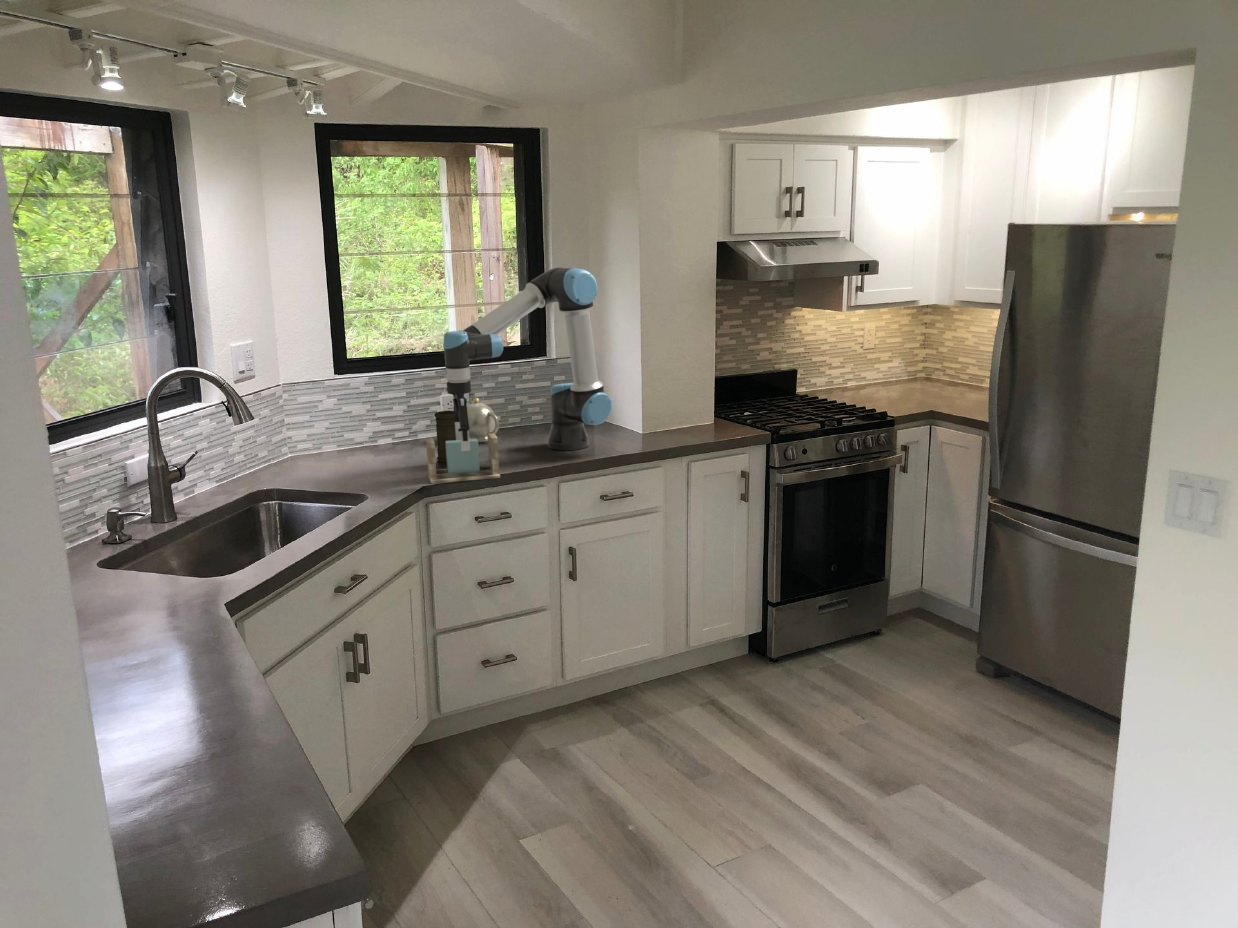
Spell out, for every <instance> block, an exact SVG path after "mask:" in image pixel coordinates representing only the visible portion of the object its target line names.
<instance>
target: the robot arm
mask: <svg viewBox="0 0 1238 928" xmlns="http://www.w3.org/2000/svg"><path fill="white" fill-rule="evenodd" d="M598 290H599V288H598V283H597V280H596V278H595V276H594V275H593V274H592V273H591V272H589V271H588V270H586V269H581V268H578V267H555V268H551V269H549V270H547V271H544V272H543V273H541V274H540V275H538V276H536V277H534V278H533V279H532V280H530V281H529V282H527V283H526V284H525V288H524V289H522V290H521V291H519V292H518V293H517V294H515V295H514V296H512V297H511V298H509V299H508V300H507V301H505V302H503V303H502V304H501V305H499V306H498V307H496V308H495V309H493V310H492V311H490V312H488V313H487V314H485V315H484V316H483V317H481V318H480V319H478V320H476V321H475V322H474V323H472V324H470V325H469V326H467V327H465V328H464V329H463V330H454V331H453V330H451V331H447V332H445V333H444V334H443V351H444V352H443V354H444V364H445V371H444V370H443V374H444V375H445V378H446V381H447V382H446V392H447V394H449V395H452V396H453V397H452V402H453V411H454V416H453V417H454V420H455V421H456V422H455V432H456V440H461V451H469V450H470V441H469V429H470V427H469V421H468V413H467V405H468V400H467V398H466V397H465V395H466V394H469V393H471V392H472V383H471V380H470V379H471V369H470V368H471V367H470V361H475V360H476V361H477V360H484V359H493V358H499V357H500V356H502V354H503V351H504V342H503V339H502V337H501V336H500V335H499V334H501V333H502V332H503V331H505V330H506V329H508V328H509V327H511V326H513V325H514V324H515V323H517V322H518V321H520V320H521V319H523V318H524V317H525V316H527V315H528V314H530V313H531V312H533V311H534V310H537V308H538V309H539V308H540V309H542V308H544V307H545V306H547V305H549V304H552V303H558V310H559V312H560V313H562V314H563V316H564V321H565V328H566V334H567V335H566V336H567V342H568V350H569V358H570V365H571V371H572V372H571V373H572V380H573V382H567V383H566V382H565V383H558V384H554V385H552V386H551V387H550V395H549V397H550V411H551V414H550V415H551V428H550V431H549V434H548V437H547V448H548V449H551V450H555V451H556V450H558V451H575V450H576V451H577V450H582V449H586V448H588V447H589V445H590V439H589V436H588V434H587V430H586V428H585V425H590V426H591V425H592V426H598V425H601V424H603V423H604V422H605V421H607V419H608V418H609V417H610V416H611V413H612V410H613V403H612V399H611V397H610V396H609V395H608V394H607V393H605V389H604V383H603V382H602V381H600V380H599V377H598V367H597V360H596V351H595V344H594V336H593V329H592V327H593V326H592V322H591V313H590V312H591V310H592V309H593V307H594V301H595V300H596V296H597V295H598Z"/></svg>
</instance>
